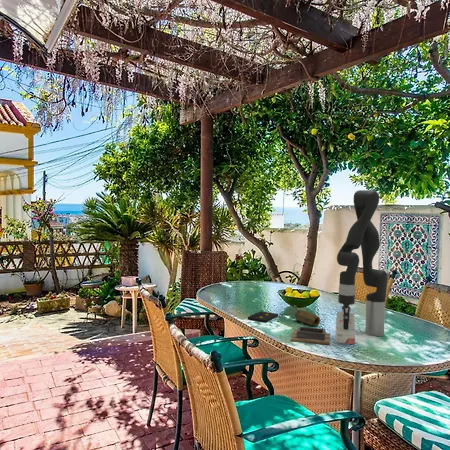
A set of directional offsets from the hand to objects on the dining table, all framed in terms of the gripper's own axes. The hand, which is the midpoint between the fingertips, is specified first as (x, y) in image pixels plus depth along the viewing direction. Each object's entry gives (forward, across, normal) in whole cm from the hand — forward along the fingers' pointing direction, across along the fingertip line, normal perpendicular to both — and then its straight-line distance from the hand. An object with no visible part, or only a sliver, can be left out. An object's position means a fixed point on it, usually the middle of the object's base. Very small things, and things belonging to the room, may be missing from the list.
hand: (345, 327), depth 187 cm
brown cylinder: (+8, -27, -20) cm, 34 cm away
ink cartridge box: (+8, 0, 0) cm, 8 cm away
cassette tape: (+8, -30, -45) cm, 55 cm away
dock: (+7, 0, -16) cm, 18 cm away
